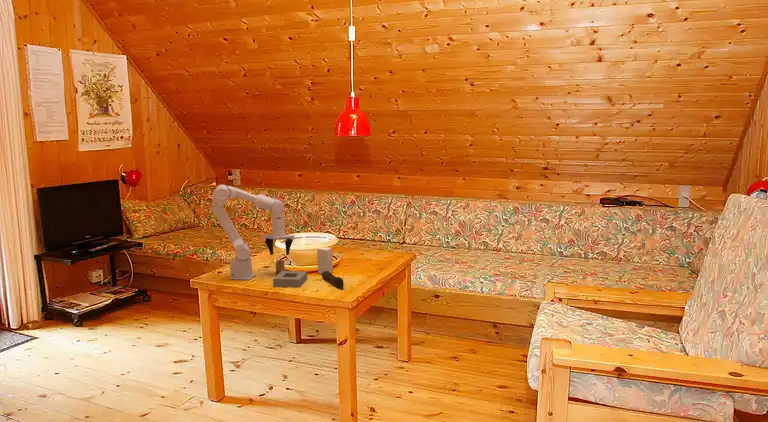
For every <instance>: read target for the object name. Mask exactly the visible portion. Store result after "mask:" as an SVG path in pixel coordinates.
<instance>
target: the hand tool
mask: <svg viewBox="0 0 768 422" xmlns="http://www.w3.org/2000/svg"><path fill="white" fill-rule="evenodd" d="M321 278H322V279H323V280H326V281H327V282H328V283H330V284H331V285H334V287H335V288H336V289H339V290H344V284H345V283H344V279H343V278H342V277H339V276H335V275H333V273H330V272H329V271H324V272H323V273H322V274H321Z"/></svg>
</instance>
